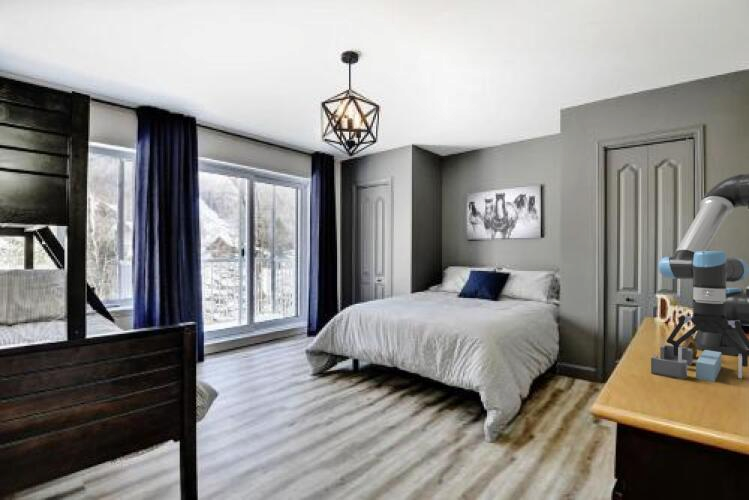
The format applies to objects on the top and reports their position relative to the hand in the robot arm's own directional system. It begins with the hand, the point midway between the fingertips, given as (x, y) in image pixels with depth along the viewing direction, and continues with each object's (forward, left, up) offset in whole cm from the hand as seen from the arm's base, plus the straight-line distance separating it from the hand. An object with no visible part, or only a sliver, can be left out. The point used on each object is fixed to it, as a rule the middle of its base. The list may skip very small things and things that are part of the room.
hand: (708, 372), depth 115 cm
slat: (0, 0, 0) cm, 0 cm away
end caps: (+6, -6, 0) cm, 9 cm away
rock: (-13, -15, 0) cm, 20 cm away
